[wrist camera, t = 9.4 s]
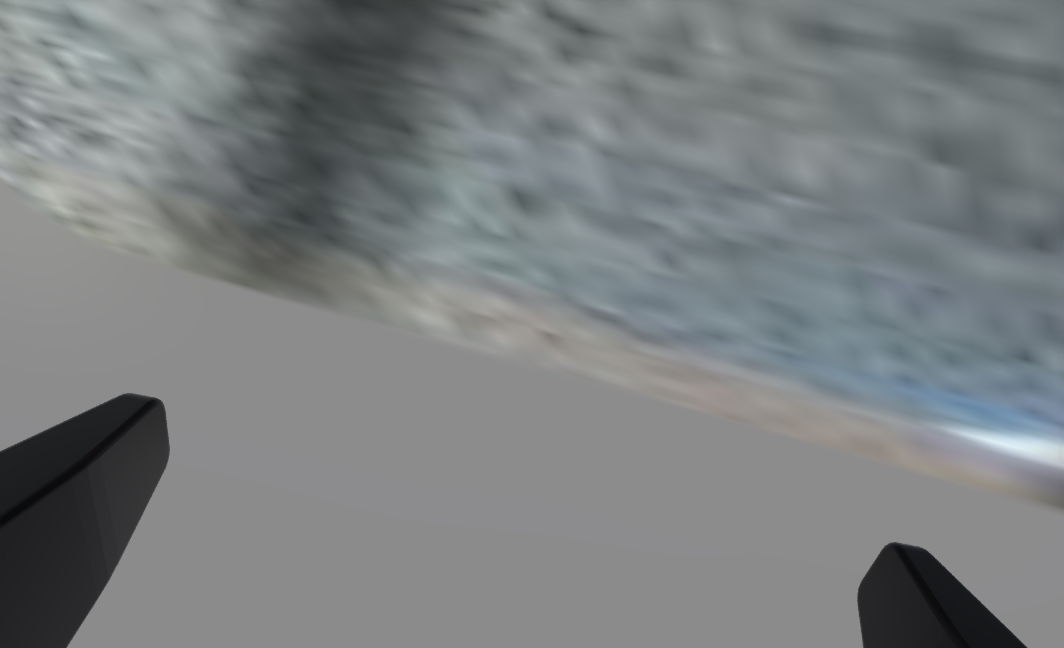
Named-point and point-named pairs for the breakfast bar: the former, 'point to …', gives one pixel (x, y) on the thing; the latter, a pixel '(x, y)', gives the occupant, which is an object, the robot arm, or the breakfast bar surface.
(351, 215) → the breakfast bar surface
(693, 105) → the breakfast bar surface
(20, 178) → the breakfast bar surface
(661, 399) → the breakfast bar surface
